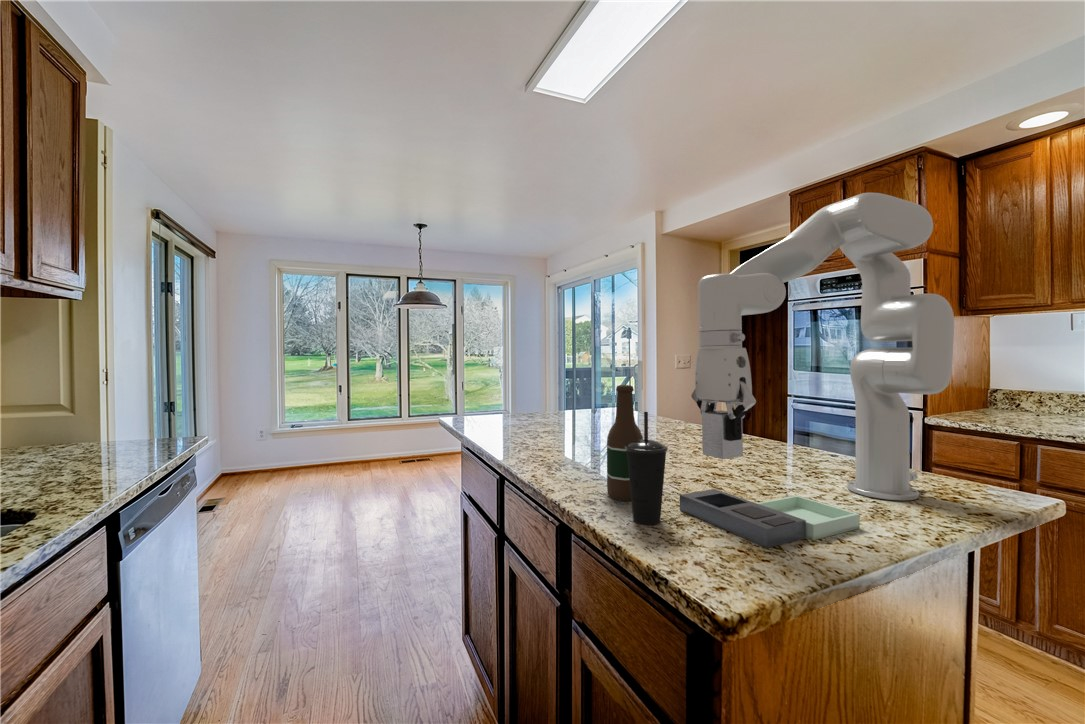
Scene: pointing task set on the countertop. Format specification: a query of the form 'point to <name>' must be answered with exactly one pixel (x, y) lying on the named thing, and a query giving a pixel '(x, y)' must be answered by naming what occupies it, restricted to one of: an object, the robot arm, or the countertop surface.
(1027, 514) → the countertop surface
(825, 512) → the parts tray
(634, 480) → the drinking cup
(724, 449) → the block
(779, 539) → the grey slotted block
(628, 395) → the beer bottle
